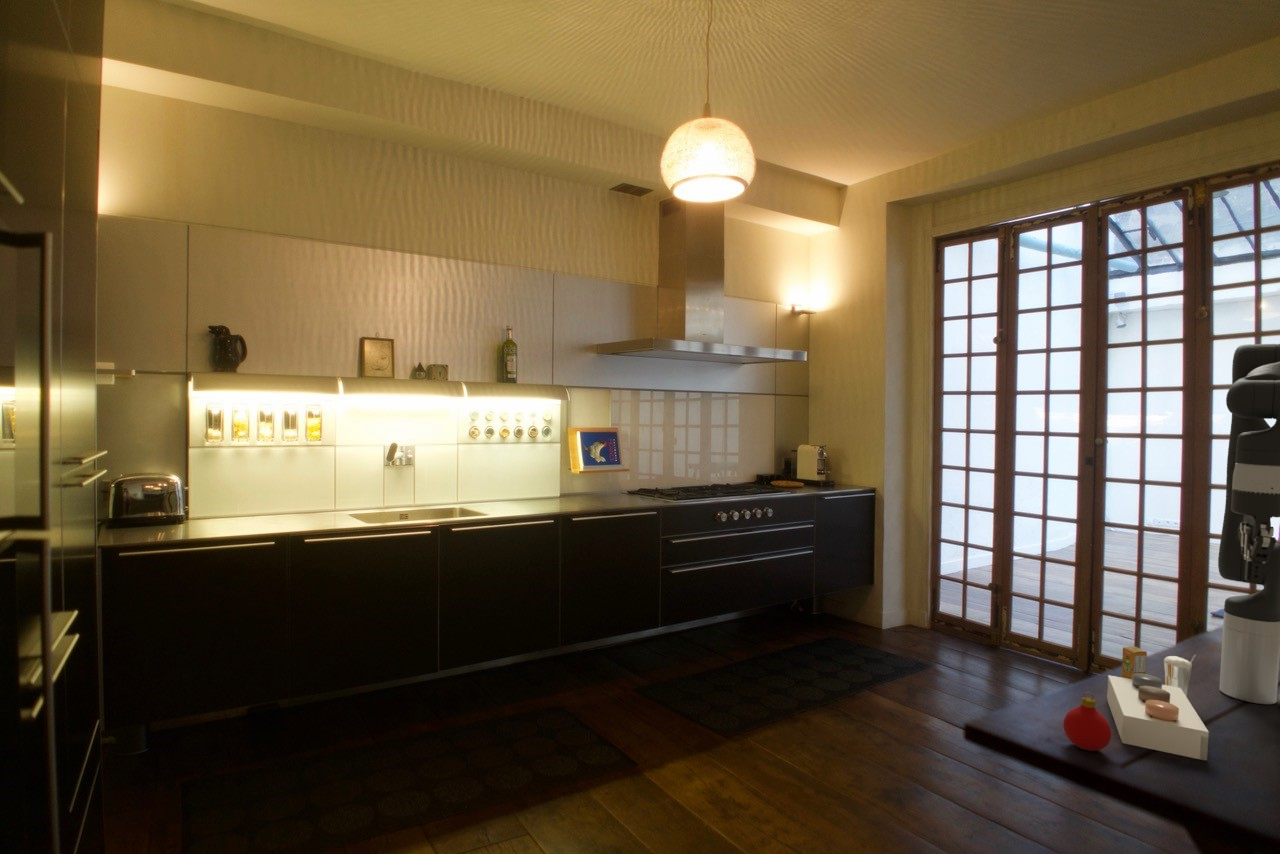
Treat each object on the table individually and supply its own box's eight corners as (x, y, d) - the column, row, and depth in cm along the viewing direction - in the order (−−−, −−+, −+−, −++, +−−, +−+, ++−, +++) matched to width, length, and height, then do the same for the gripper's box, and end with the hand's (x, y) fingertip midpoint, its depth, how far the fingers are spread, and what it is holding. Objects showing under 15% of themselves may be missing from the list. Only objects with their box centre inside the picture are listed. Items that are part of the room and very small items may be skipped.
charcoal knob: (1128, 702, 142) (1130, 671, 142) (1157, 708, 140) (1159, 676, 139) (1132, 711, 138) (1134, 679, 137) (1162, 717, 135) (1164, 684, 135)
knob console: (1106, 699, 145) (1108, 675, 144) (1178, 712, 139) (1180, 687, 139) (1122, 742, 125) (1123, 715, 125) (1206, 760, 120) (1208, 731, 119)
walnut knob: (1134, 716, 135) (1136, 683, 135) (1165, 722, 133) (1167, 689, 133) (1138, 726, 131) (1140, 692, 131) (1170, 732, 129) (1172, 698, 129)
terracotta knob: (1141, 732, 129) (1143, 697, 128) (1173, 738, 126) (1175, 703, 126) (1145, 742, 124) (1148, 707, 124) (1179, 749, 122) (1181, 713, 122)
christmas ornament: (1093, 739, 126) (1096, 684, 126) (1120, 759, 119) (1123, 701, 119) (1053, 738, 126) (1056, 683, 126) (1078, 758, 119) (1081, 700, 119)
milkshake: (1198, 707, 142) (1201, 658, 142) (1168, 704, 143) (1171, 655, 143) (1186, 698, 146) (1189, 651, 146) (1157, 695, 148) (1160, 648, 147)
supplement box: (1118, 692, 148) (1121, 646, 148) (1133, 692, 148) (1136, 646, 148) (1130, 699, 145) (1133, 651, 145) (1146, 699, 145) (1149, 651, 145)
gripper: (1298, 494, 121) (1292, 593, 122) (1273, 486, 133) (1268, 577, 134) (1243, 491, 125) (1237, 587, 125) (1223, 483, 136) (1218, 571, 137)
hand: (1253, 581), depth 130 cm, fingers closed
